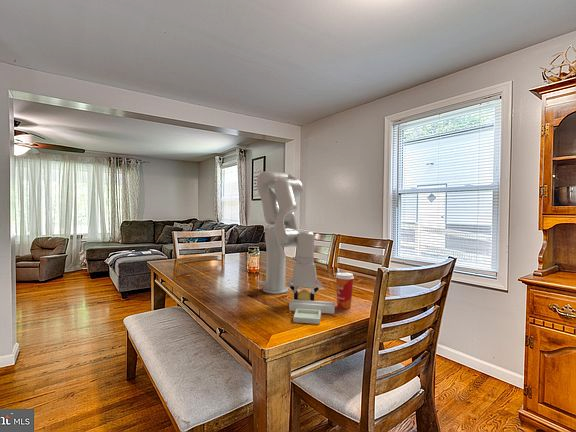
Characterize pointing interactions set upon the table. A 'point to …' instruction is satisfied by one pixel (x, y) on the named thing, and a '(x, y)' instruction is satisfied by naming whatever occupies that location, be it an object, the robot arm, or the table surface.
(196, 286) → the table surface
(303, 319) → the dish
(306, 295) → the ball
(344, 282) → the paper cup
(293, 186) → the robot arm
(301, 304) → the rails
